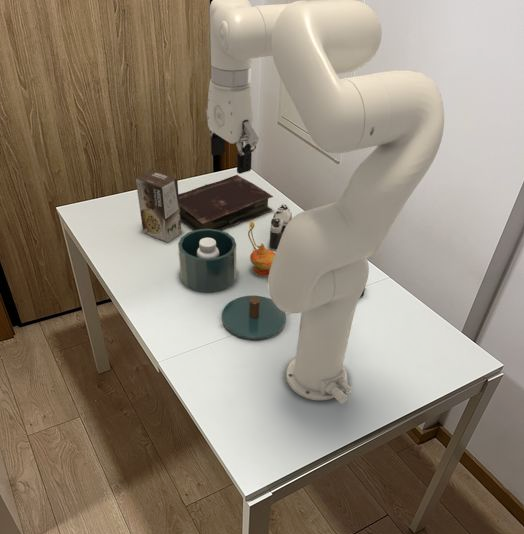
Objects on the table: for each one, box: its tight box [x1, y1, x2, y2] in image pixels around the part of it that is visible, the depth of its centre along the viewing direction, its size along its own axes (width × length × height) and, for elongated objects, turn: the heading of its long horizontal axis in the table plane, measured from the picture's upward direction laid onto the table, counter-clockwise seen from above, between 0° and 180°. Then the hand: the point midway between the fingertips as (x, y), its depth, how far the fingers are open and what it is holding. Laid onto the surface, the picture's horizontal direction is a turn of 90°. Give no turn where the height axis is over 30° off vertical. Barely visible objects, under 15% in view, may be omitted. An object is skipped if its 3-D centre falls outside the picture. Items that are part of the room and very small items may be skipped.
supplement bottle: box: [197, 238, 219, 259], centre depth 130 cm, size 5×5×10 cm
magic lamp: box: [247, 220, 276, 277], centre depth 132 cm, size 7×18×11 cm, turn 33°
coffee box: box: [135, 169, 182, 243], centre depth 142 cm, size 9×6×16 cm
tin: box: [177, 229, 237, 294], centre depth 130 cm, size 14×14×10 cm
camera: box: [268, 204, 293, 252], centre depth 145 cm, size 13×8×9 cm, turn 168°
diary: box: [178, 174, 274, 231], centre depth 155 cm, size 19×25×5 cm
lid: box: [221, 295, 287, 340], centre depth 121 cm, size 15×15×6 cm
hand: (230, 162), depth 112 cm, fingers open, 9 cm apart
